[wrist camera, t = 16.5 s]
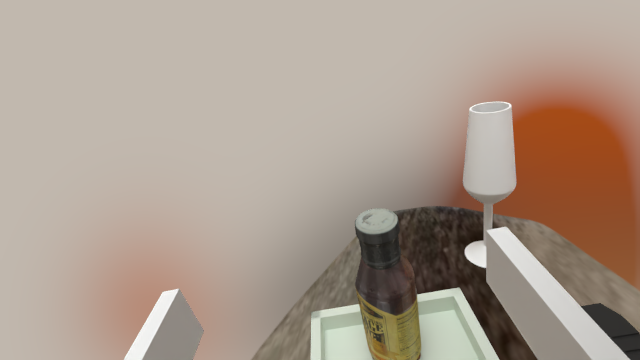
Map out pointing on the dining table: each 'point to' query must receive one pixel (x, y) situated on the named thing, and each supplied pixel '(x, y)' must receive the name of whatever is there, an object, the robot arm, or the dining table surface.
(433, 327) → the tray
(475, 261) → the champagne flute
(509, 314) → the robot arm
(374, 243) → the sauce bottle
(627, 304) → the dining table surface
